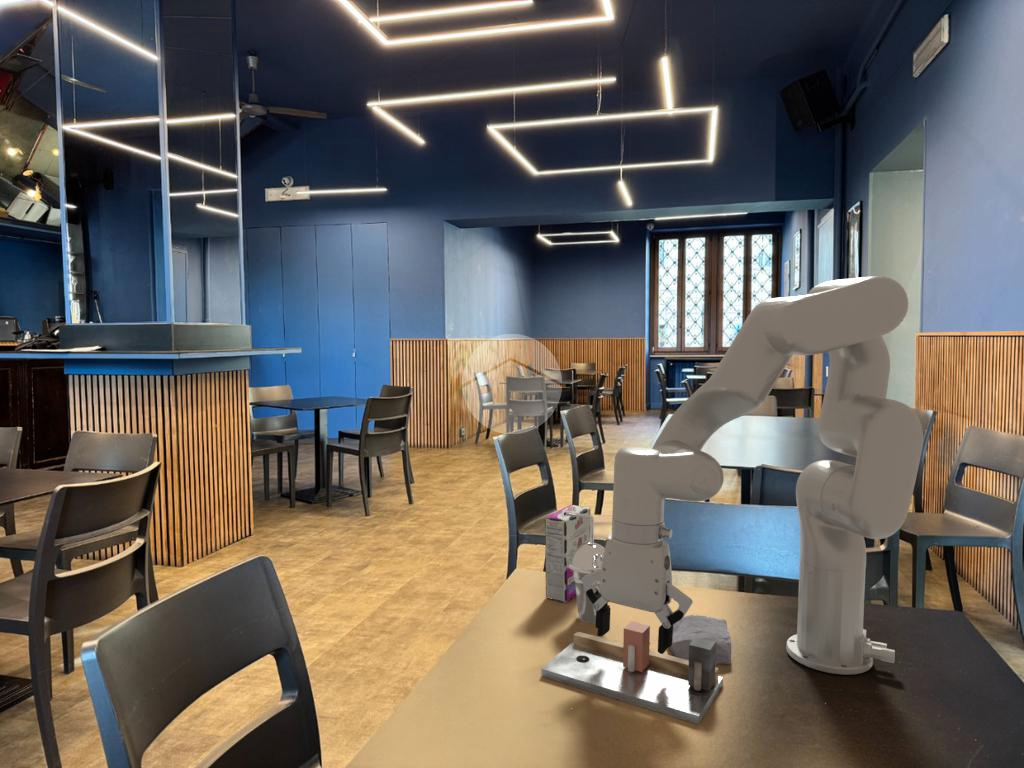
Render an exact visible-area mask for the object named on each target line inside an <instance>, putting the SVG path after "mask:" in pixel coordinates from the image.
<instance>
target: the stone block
mask: <svg viewBox="0 0 1024 768" xmlns="http://www.w3.org/2000/svg"><path fill="white" fill-rule="evenodd" d="M695 637H699V638H703V639H707V640H711V641H715V642H716V662H715V665H725V666H727V665H730V664H731V662H732V650H733V649H732V639H731V634H730V632H729V630H728V623H727V619H726V618H721V619H720V618H719V619H718V618H716V617H711V616H707V615H698V614H696V615H695V614H690V615H684V617H683V618H682V619H681V620H679V621H678V622H676V623H675V624H674V625H673V640H672V645H671V647H670V648H669V650H670V651H671V653H672V654H673V656H674V657H677V658H681V659H685V660H689V644H690V643H691V642H692V640H693V639H694V638H695Z"/></svg>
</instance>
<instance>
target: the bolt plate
mask: <svg viewBox="0 0 1024 768" xmlns="http://www.w3.org/2000/svg"><path fill="white" fill-rule="evenodd" d="M540 676H541V678H542V677H543V678H546V679H549V680H552V681H556V682H559V683H562V684H566V685H569V686H572V687H576V688H579V689H582V690H585V691H588V692H592V693H595V694H598V695H602V696H605V697H608V698H611V699H614V700H616V701H617V700H618V701H620V702H624V703H628V704H630V705H633V706H637V707H641V708H644V709H647V710H650V711H654V712H656V713H659V714H663V715H666V716H669V717H672V718H676V719H679V720H683V721H686V722H689V723H692V724H695V725H700V723H701V721H702V720H703V718H704V717H705V715H706V714H707V712H708V711H709V708H710V707H711V705H712V703H713V701H715V699H716V697H717V695H718V694H719V692H720V690H721V689H722V687H723V686H724V677H723V676H719V675H718V680H717V681H716V683H714V684H713V686H712V687H711V689H710V690H709V691H707V690H704V689H701V690H700V691H697V690H694V687H693V686H690V685H688V675H685V674H681V673H678V672H674V671H670V670H667V669H663V668H659V667H656V666H652V665H648V666H647V667H646V668H645V669H644V670H643V672H640V671H636V670H635V671H634V672H629V671H628V668H625V667H623V658H622V657H619V656H615V655H611V654H608V653H604V652H600V651H597V650H593V649H589V648H586V647H582V646H578V645H575V644H574V640H573V641H572V642H571V643H570V644H569V645H567V646H566V647H565V648H564V649H563V650H562V651H560V652H559V653H558V654H556V655H555V656H554V657H553V658H552V659H551V660H550V661H548V663H546V664H545V665H544V666H543V667H542V668H541V675H540Z"/></svg>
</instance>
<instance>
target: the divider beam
mask: <svg viewBox="0 0 1024 768" xmlns="http://www.w3.org/2000/svg"><path fill="white" fill-rule="evenodd" d="M573 641H574V644H575V645H578V646H582V647H586V648H589V649H593V650H597V651H600V652H604V653H608V654H611V655H615V656H619V657H622V658H623V643H622V642H621V641H620V642H619V641H615V640H612V639H607V638H604V637H599V636H597V635H596V636H595V635H593V634H588V633H584V632H581V631H576V632H575V633H574V634H573ZM715 662H716V642H715V641H711V640H707V639H703V638H699V637H695V638H694V639H693V640H692V642H691V643H690V644H689V660H685V659H681V658H677V657H675V655H669V654H665V653H663V654H660V653H659V652H658V651H654V650H651V649H649V665H652V666H656V667H659V668H663V669H667V670H670V671H674V672H678V673H681V674H685V675H688V685H690V686H693V687H694V690H697V691H700V690H701V689H704V690H707V691H709V690H710V689H711V687H712V686H713V684H714V683H716V681H717V680H718V676H719V667H716V664H715Z"/></svg>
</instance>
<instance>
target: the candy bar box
mask: <svg viewBox="0 0 1024 768" xmlns="http://www.w3.org/2000/svg"><path fill="white" fill-rule="evenodd" d="M564 512H572V513H581V514H590V515H591V507H589V506H581V505H576V504H569V505H567V506H566V507H564V508H561V509H559V510H557V511H556V512H554V513H551V514H549V515H548V516H545V517H544V540H545V541H544V542H545V543H544V546H545V547H544V549H545V553H544V554H545V561H544V562H545V598H546V597H549V598H552V599H555V600H558V601H557V602H560V601H562V602H561V603H564V604H567V603H569V602H570V601H571V600H572V598H573V597H574V596H575V597H576V591H575V581H574V579H573V574H572V570H571V569H570V568H569V567H568V563H569V559H570V558H572V557H573V554H574V552H575V551H576V549H577V548H578V547H579V546H581V545H583V544H585V543H590V519H589V518H582V517H573V516H564ZM575 597H574V598H575ZM574 598H573V599H574ZM570 599H571V600H570ZM555 600H554V601H555ZM569 600H570V601H569Z"/></svg>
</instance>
